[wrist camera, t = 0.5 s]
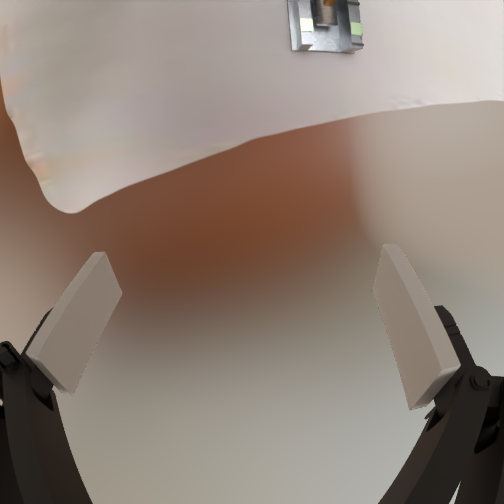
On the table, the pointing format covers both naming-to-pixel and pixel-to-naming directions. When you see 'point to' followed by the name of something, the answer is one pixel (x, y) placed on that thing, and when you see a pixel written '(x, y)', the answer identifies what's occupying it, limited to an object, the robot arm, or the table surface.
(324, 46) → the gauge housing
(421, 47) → the table surface
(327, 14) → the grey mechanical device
